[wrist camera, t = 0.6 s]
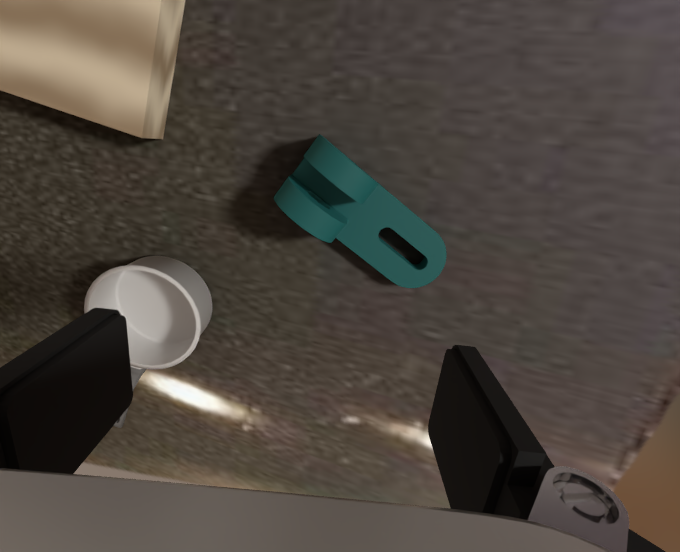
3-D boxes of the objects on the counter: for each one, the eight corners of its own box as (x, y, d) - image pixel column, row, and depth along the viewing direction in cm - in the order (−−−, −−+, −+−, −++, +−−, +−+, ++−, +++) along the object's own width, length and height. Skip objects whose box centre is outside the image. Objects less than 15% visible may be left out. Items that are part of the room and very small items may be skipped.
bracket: (282, 190, 37) (267, 200, 30) (322, 135, 36) (316, 132, 28) (411, 292, 41) (426, 323, 34) (453, 246, 39) (479, 269, 32)
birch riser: (20, -92, 30) (-26, -126, 26) (189, -26, 31) (168, -50, 27) (14, 88, 34) (-26, 81, 30) (162, 139, 36) (141, 137, 32)
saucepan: (95, 379, 45) (63, 410, 40) (128, 233, 39) (94, 247, 34) (185, 409, 46) (165, 442, 41) (231, 272, 40) (214, 291, 35)
